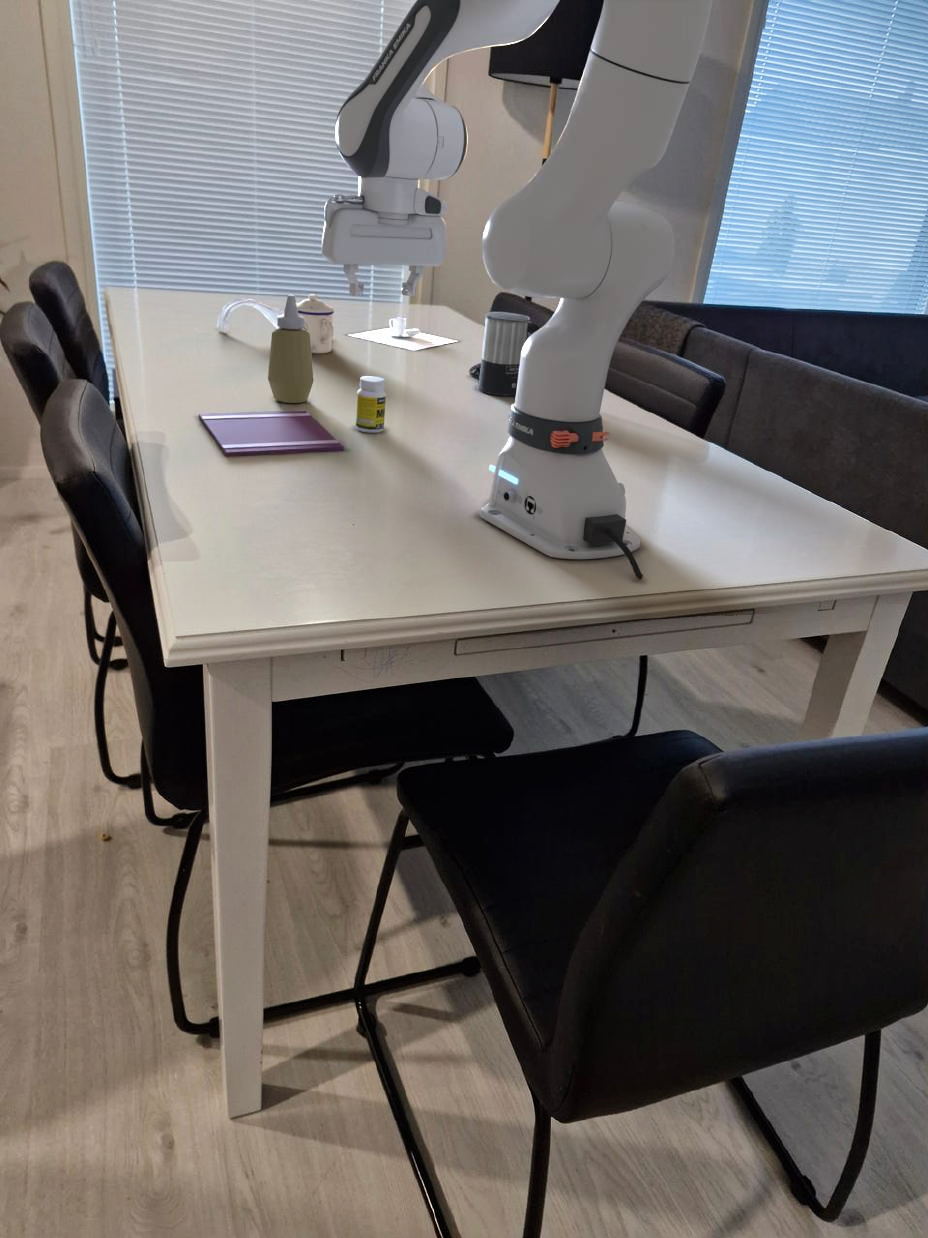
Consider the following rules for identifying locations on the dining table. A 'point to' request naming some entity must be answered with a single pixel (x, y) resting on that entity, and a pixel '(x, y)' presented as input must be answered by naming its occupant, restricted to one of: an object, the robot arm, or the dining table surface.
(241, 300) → the clear curved arch
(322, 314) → the teacup with lid
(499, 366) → the milk frother
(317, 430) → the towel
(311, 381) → the squeeze bottle
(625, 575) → the dining table surface
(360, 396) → the supplement bottle
